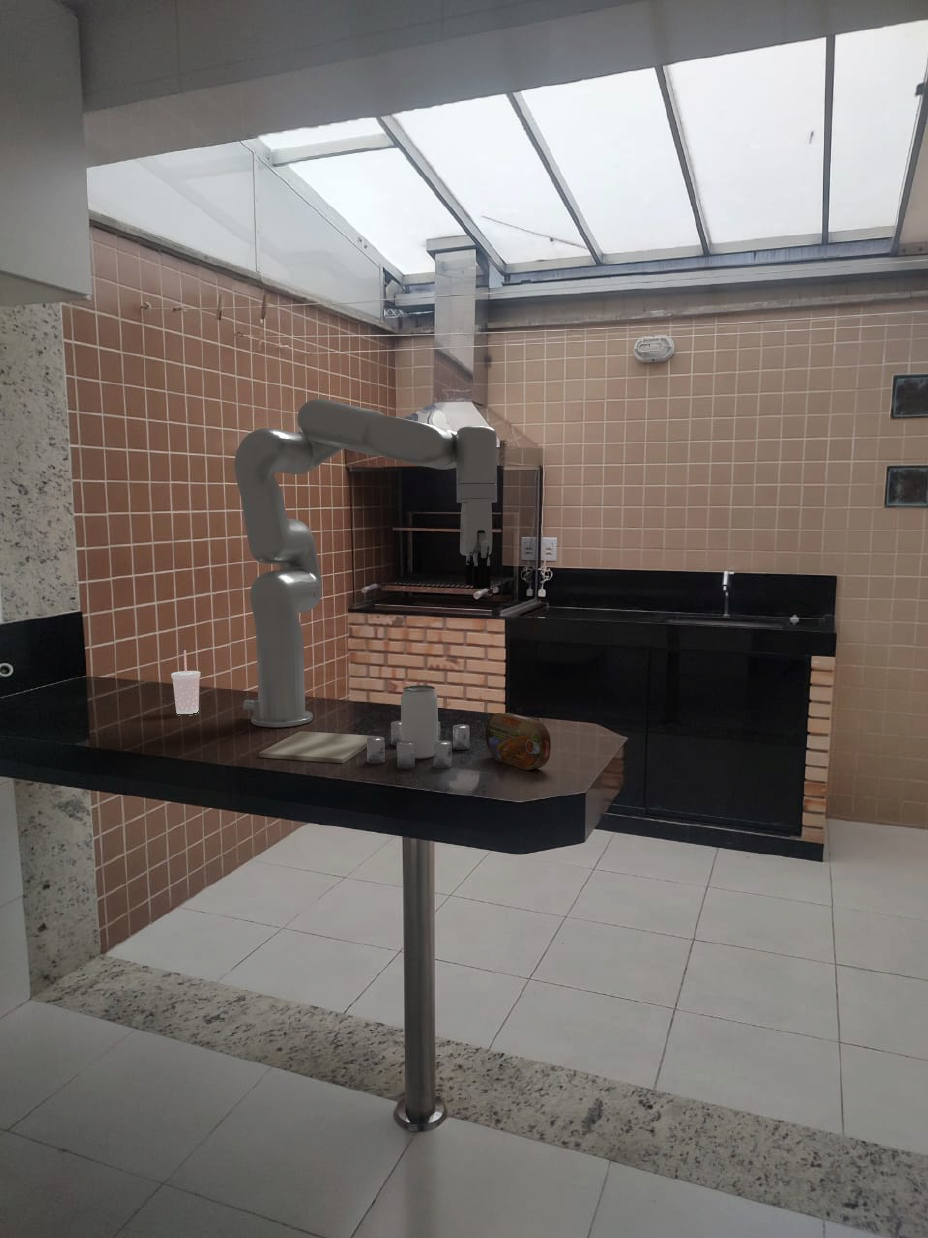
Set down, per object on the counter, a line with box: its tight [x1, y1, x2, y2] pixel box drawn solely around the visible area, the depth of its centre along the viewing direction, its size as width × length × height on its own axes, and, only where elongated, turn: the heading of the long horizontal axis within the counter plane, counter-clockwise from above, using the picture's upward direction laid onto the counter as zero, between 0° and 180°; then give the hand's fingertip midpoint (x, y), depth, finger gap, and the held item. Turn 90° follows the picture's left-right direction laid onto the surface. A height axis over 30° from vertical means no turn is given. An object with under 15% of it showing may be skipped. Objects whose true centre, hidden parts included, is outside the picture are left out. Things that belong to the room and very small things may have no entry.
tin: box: [485, 712, 552, 771], centre depth 138 cm, size 15×3×8 cm, turn 35°
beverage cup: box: [170, 649, 201, 715], centre depth 178 cm, size 6×6×14 cm
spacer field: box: [366, 720, 470, 770], centre depth 144 cm, size 15×18×4 cm
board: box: [258, 731, 376, 764], centre depth 149 cm, size 16×16×1 cm
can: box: [400, 684, 439, 760], centre depth 144 cm, size 6×6×12 cm
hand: (477, 586), depth 153 cm, fingers open, 9 cm apart
